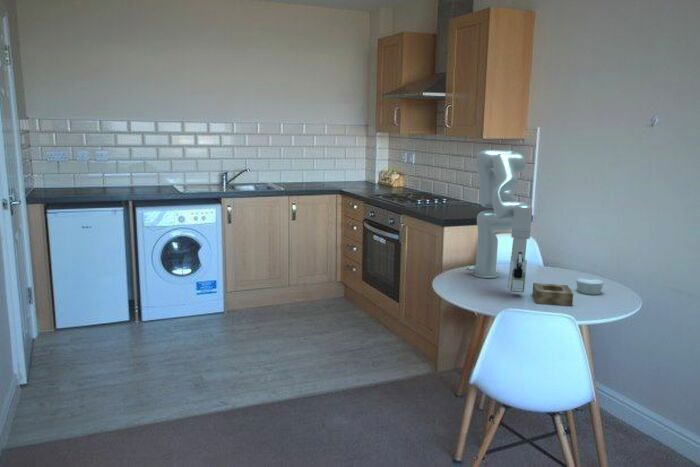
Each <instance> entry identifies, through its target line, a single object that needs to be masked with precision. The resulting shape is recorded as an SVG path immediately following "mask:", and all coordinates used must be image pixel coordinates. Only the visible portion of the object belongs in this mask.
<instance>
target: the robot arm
mask: <svg viewBox="0 0 700 467" xmlns="http://www.w3.org/2000/svg"><path fill="white" fill-rule="evenodd" d="M475 159H476V161H475V162H476V170H477V173H478V177H479V178H478V179H479V202H480V205H481V206H482V207H483V208H493V209H492V210H482V211H480V212H479V213H478V214H477V216H476V226H477V243H476V244H477V247H476V258H475V259H476V262H475V264H474V265H466V267H465V268H466V271H470V272H471V271H472V272H471V273H472V276H474V277H476V278H477V277H478V278H480V279H481V278H482V279H497V278H498V277H499V276H500V273H498V272H497V261H498V245H499V240H498V237H497V235H496V234H495V233H494V231H495V232H496V231H510V230H511V233H510V234H511V236H510V237H511V238H512V244H511V245H512V246H511V256H512V261H513V262H514V261H516V265H515V270H514V278H522V271H523V269H522V266H523V262H524V261H525V258H526V252H527V243H528V240H530V238H531V230H532V229H531V228H532V219H533V218H532V217H533V207H532V205H530V204H527V203H526V202H525V201H515V196H514V192H513V190H512V189H514V188H515V187H516V186H517V184H518V177H517V174H516V173H522V172H524V170H525V169H526V164H527V163H526V159H525V157H524V155H523V154H522V153H519V152H516V151H514V150H502V149H500V150H499V149H487V150H481V151H479V152H478V153H477V156H476V158H475ZM511 256H510V257H511ZM517 260H518V261H517Z"/></svg>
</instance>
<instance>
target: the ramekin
mask: <svg viewBox="0 0 700 467" xmlns="http://www.w3.org/2000/svg"><path fill="white" fill-rule="evenodd" d="M575 281H576V290H577V291H578V293H581V294H584V295H590V296H594V295H595V296H598V295H600V294H601V293H602V291H603V290H602V289H603V286H604V281H603V280H600V279H597V278H592V277H591V278H589V277H579V278H576V280H575Z"/></svg>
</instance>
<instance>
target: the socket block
mask: <svg viewBox="0 0 700 467" xmlns="http://www.w3.org/2000/svg"><path fill="white" fill-rule="evenodd" d="M532 297H533V300H534V303H535V304H541V305H542V304H543V305H554V306H555V305H556V306H567V307H568V306H569V307H572V306H573V300H574V293H573V292H572V290H571V289H570V287H569V285H567V284H556V283H555V284H554V283H540V282H533V283H532Z"/></svg>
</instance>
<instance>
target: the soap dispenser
mask: <svg viewBox="0 0 700 467" xmlns="http://www.w3.org/2000/svg"><path fill="white" fill-rule="evenodd" d="M517 261H518V260H517ZM527 263H528V261H527V259H526V257H525V261H524V262H523V266H522V269H523V271H522V278H514V270H515V265H516V261H514V262H513V261H512V256H510V263H509V273H508V274H509V275H508V285H507V288H508V290H509V292H511V293H512V292H513V293H524V292H525V284H526V272H527Z"/></svg>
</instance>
